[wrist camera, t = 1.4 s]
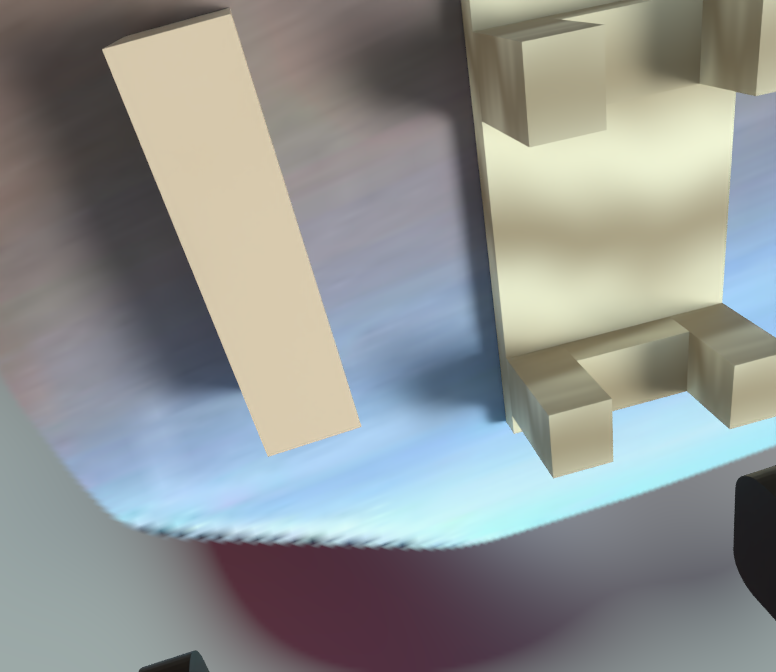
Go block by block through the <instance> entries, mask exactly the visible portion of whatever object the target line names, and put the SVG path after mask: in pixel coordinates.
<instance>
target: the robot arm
mask: <svg viewBox="0 0 776 672" xmlns="http://www.w3.org/2000/svg"><path fill="white" fill-rule="evenodd" d="M734 516H735V517H734V547H733V551H734V558H735V563H736V566H737V568H738V571H739V573H740V575H741V577H742V579H743V581H744V583H745V585H746V586H747V588H748V589H749V590H750V592H751V593H752V594H753V596H754V597H755V598H756V599H757V600H758V601H759V602H760V603H761V605H762V606H763V607H764V608H765V609H766V610H767V611H768V612H769V614H771V616H772V617H773V618H774V619H775V620H776V465H775V466H772V467H769V468H766V469H763V470H760V471H757V472H754V473H750V474H748V475H744V476H741V477H740V478H739V479H738V480H737V483H736V488H735V515H734ZM139 672H209V670H208V668H207V666H206V664H205V662H204V660H203V658H202V656H201V655H200V653H199V652H198V651H192V652H189V653H186V654H182V655H179V656H176V657H173V658H170V659H167V660H164V661H161V662H158V663H154V664H151V665H148V666H145V667H142V668H141V669H140V670H139Z"/></svg>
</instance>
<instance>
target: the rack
mask: <svg viewBox="0 0 776 672" xmlns="http://www.w3.org/2000/svg"><path fill="white" fill-rule="evenodd" d="M461 7H462V16H463V25H464V35H465V44H466V53H467V62H468V72H469V81H470V90H471V99H472V109H473V118H474V127H475V137H476V146H477V155H478V164H479V174H480V183H481V192H482V201H483V211H484V220H485V229H486V238H487V248H488V257H489V266H490V276H491V285H492V294H493V303H494V313H495V322H496V331H497V340H498V350H499V359H500V368H501V377H502V387H503V396H504V405H505V415H506V422H507V424H508V425H509V427H510V428H511V430H512V431H513V433H514V434H515V433H519V432H523V433H524V435H525V436H526V438H527V439H528V441H529V442H530V444H531V445H532V447H533V448H534V450H535V451H536V453H537V454H538V456H539V457H540V459H541V460H542V462H543V463H544V465H545V466H546V468H547V469H548V471H549V473H550V474H551V476H552V477H553V478H556V477H560V476H563V475H567V474H570V473H574V472H578V471H581V470H585V469H588V468H592V467H596V466H599V465H603V464H606V463H610V462H613V429H612V411H615V410H618V409H622V408H626V407H630V406H633V405H637V404H641V403H644V402H648V401H652V400H655V399H659V398H663V397H666V396H670V395H674V394H678V393H681V392H685V391H687V392H688V393H690V394H691V395H692V396H693V397H694V398H695V399H696V400H697V401H699V402H700V403H701V404H702V405H703V406H704V407H705V408H706V409H708V410H709V411H710V412H711V413H712V414H713V415H714V416H715V417H717V418H718V419H719V420H720V421H721V422H722V423H723V424H724V425H726V426H727V427H728V428H729V429H732V428H736V427H739V426H743V425H746V424H750V423H754V422H757V421H761V420H764V419H768V418H772V417H775V416H776V338H775V337H774V336H772V335H771V334H769V333H768V332H766V331H764V330H763V329H761V328H760V327H758V326H757V325H755V324H754V323H752V322H751V321H749V320H747V319H746V318H744V317H743V316H741V315H740V314H738V313H737V312H735V311H734V310H732V309H731V308H729V307H727V306H726V305H724V304H723V303H722V296H723V280H724V265H725V250H726V234H727V219H728V204H729V189H730V173H731V158H732V143H733V127H734V112H735V97H736V92H740V93H744V94H749V95H753V96H758V95H763V94H767V93H772V92H776V0H461Z"/></svg>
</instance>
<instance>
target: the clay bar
mask: <svg viewBox="0 0 776 672" xmlns="http://www.w3.org/2000/svg"><path fill="white" fill-rule="evenodd" d="M102 51H103V53H104V55H105V58H106V60H107V63H108V65H109V68H110V70H111V73H112V75H113V78H114V80H115V82H116V85H117V87H118V90H119V92H120V95H121V97H122V100H123V102H124V105H125V107H126V109H127V112H128V114H129V117H130V119H131V122H132V124H133V127H134V129H135V132H136V134H137V136H138V139H139V141H140V144H141V146H142V149H143V151H144V154H145V156H146V159H147V161H148V163H149V166H150V168H151V171H152V173H153V176H154V178H155V181H156V183H157V186H158V188H159V190H160V193H161V195H162V198H163V200H164V203H165V205H166V208H167V210H168V213H169V215H170V217H171V220H172V222H173V225H174V227H175V230H176V232H177V235H178V237H179V240H180V242H181V244H182V247H183V249H184V252H185V254H186V257H187V259H188V262H189V264H190V267H191V269H192V271H193V274H194V276H195V279H196V281H197V284H198V286H199V289H200V291H201V294H202V296H203V298H204V301H205V303H206V306H207V308H208V311H209V313H210V316H211V318H212V321H213V323H214V325H215V328H216V330H217V333H218V335H219V338H220V340H221V343H222V345H223V348H224V350H225V352H226V355H227V357H228V360H229V362H230V365H231V367H232V370H233V372H234V375H235V377H236V379H237V382H238V384H239V387H240V389H241V392H242V394H243V397H244V399H245V402H246V404H247V406H248V409H249V411H250V414H251V416H252V419H253V421H254V424H255V426H256V429H257V431H258V433H259V436H260V438H261V441H262V443H263V446H264V448H265V451H266V453H267V456H268V457H269V456H272V455H275V454H278V453H281V452H284V451H287V450H291V449H294V448H297V447H300V446H303V445H306V444H309V443H312V442H315V441H319V440H322V439H325V438H328V437H331V436H334V435H337V434H340V433H343V432H346V431H350V430H353V429H356V428H359V427H361V424H360V421H359V417H358V414H357V411H356V408H355V404H354V401H353V398H352V395H351V391H350V388H349V385H348V381H347V378H346V375H345V372H344V368H343V365H342V362H341V359H340V356H339V352H338V349H337V346H336V343H335V340H334V337H333V333H332V330H331V327H330V324H329V321H328V318H327V314H326V311H325V308H324V305H323V302H322V299H321V295H320V292H319V289H318V286H317V283H316V279H315V276H314V273H313V270H312V267H311V264H310V260H309V257H308V254H307V251H306V248H305V245H304V241H303V238H302V235H301V232H300V229H299V226H298V222H297V219H296V216H295V213H294V210H293V207H292V203H291V200H290V197H289V194H288V191H287V188H286V184H285V181H284V178H283V175H282V172H281V169H280V165H279V162H278V159H277V156H276V153H275V150H274V146H273V143H272V140H271V137H270V134H269V131H268V127H267V124H266V121H265V118H264V115H263V111H262V108H261V105H260V102H259V99H258V96H257V92H256V89H255V86H254V83H253V80H252V77H251V73H250V70H249V67H248V64H247V61H246V58H245V54H244V51H243V48H242V45H241V42H240V39H239V35H238V32H237V29H236V26H235V23H234V20H233V16H232V13H231V10H230V8H227V9H223V10H220V11H216V12H212V13H209V14H205V15H201V16H198V17H194V18H190V19H187V20H183V21H180V22H176V23H172V24H169V25H165V26H161V27H158V28H154V29H150V30H147V31H143V32H139V33H136V34H132V35H129V36H125V37H123V38H121V39H119V40H118V41H116V42H114V43H112V44H110V45H109V46H107V47H105V48H103V49H102Z"/></svg>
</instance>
